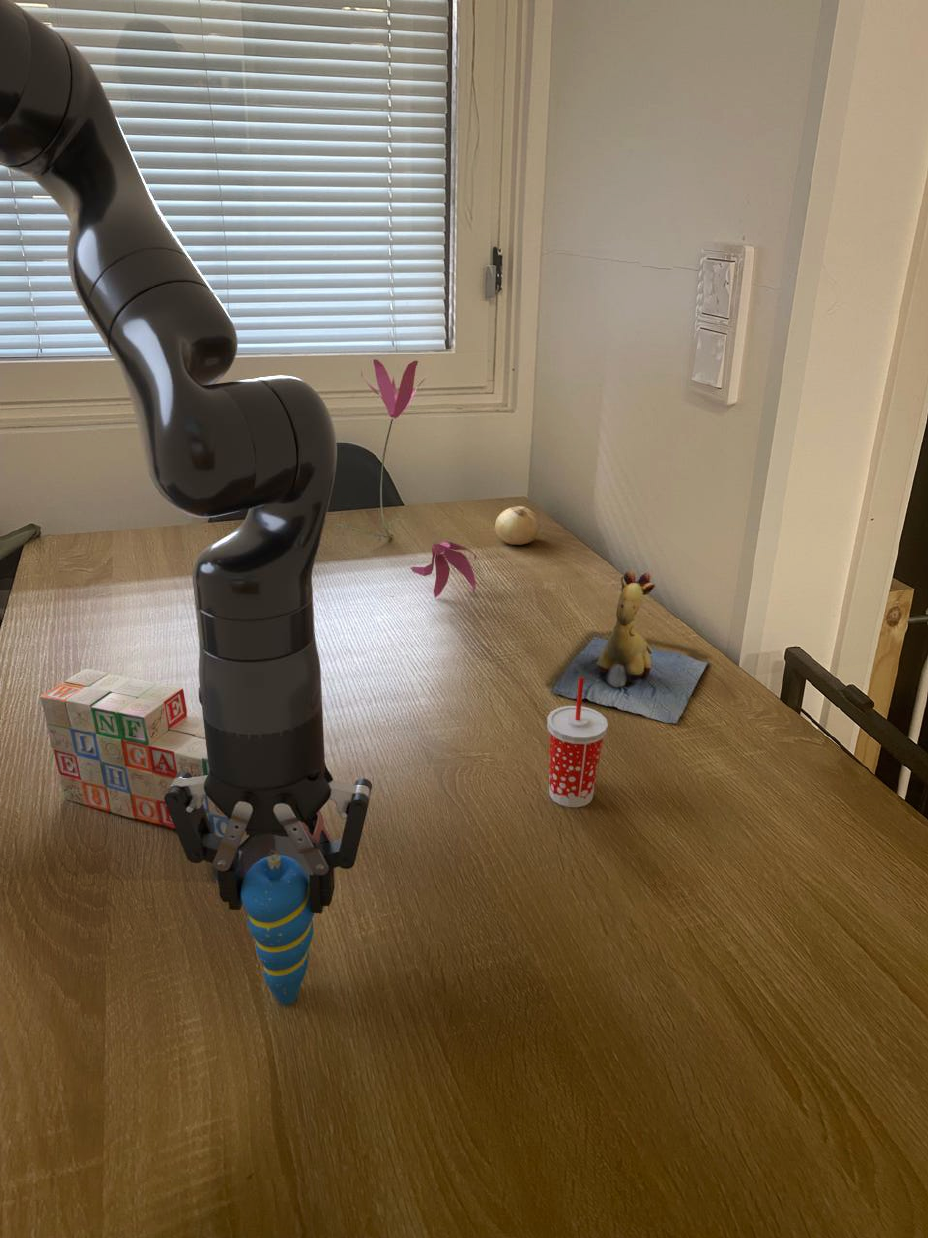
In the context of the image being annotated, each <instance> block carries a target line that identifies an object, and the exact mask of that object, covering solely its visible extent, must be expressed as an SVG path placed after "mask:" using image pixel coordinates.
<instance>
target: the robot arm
mask: <svg viewBox="0 0 928 1238" xmlns="http://www.w3.org/2000/svg"><path fill="white" fill-rule="evenodd" d="M124 135H125V134H124V133H123V130H122V128H121V126H120V124H119V121H118V119H117V116H116V114H115V111H114V109H113V106H112V104H111V102H110V100H109V98H108V95H107V93H106V91H105V89H104V87H103V85H102V83H101V81H100V79H99V77H98V75H97V72H96V71H95V70H94V68H93V67H92V64H91V63H90V62H89V60H88V59H87V58H86V57H85V55H83V53H82V52H81V51H80V50H79V49H78V48H77V47H76V46H75V45H74V44H73V43H71V42H70V41H69V40H68V38H65V37H64V35H62V34H60V33H59V32H57V31H56V30H54V29H52V28H51V27H49V26H48V25H47V24H45V23H44V22H43V21H41V20H40V19H39V18H37V17H35V16H34V15H32V14H31V13H29V11H27V10H25V9H24V8H22V7H21V6H20V5H18V4H17V3H16V2H14V1H13V0H0V165H1V166H3V167H4V168H7V169H9V170H11V171H16V172H17V173H22V174H24V175H27V177H30V178H31V179H32V180H33V181H35V183H37V184H38V185H39V186H40V188H42V190H44V191H45V192H46V193H47V194H48V195H49V196H50V197H51V198H52V199H53V200H54V202H56V204H57V205H58V206H59V207H60V209H61V210H62V211H63V213H64V214H65V215H66V217H67V219H68V220H69V222H70V224H71V225H70V228H69V233H68V234H69V235H68V241H67V250H66V252H67V253H66V254H67V255H66V256H67V266H68V267H67V268H68V273H69V276H70V279H71V283H72V286H73V289H74V291H75V294H76V296H77V299H78V301H79V303H80V305H81V306H82V308H83V310H84V312H85V314H86V315H87V317H88V319H89V320H90V322H91V324H92V325H93V326H94V329H95V330H96V331H97V333H98V335H99V336H100V338H101V339H102V341H103V343H104V345H105V346H106V347H107V349H108V351H109V352H110V354H111V356H112V357H113V359H114V361H115V362H116V363H117V365H118V368H119V369H120V372H121V374H122V376H123V379H124V383H125V385H126V389H127V391H128V395H129V398H130V401H131V405H132V408H133V412H134V415H135V418H136V423H137V427H138V432H139V437H140V441H141V447H142V451H143V457H144V462H145V464H146V465H145V466H146V469H147V472H148V476H149V478H150V480H151V482H152V484H153V486H154V488H155V489H156V491H157V492H158V493H159V495H160V496H161V497H162V498H163V499H164V500H166V502H167V503H169V504H170V505H171V506H172V507H174V508H175V509H177V510H179V511H181V513H184V514H185V515H189V516H191V517H193V518H202V519H206V518H216V517H220V516H225V515H229V514H230V515H231V514H234V513H238V512H242V511H245V510H248V511H247V514H246V516H245V518H244V520H243V522H242V523H241V524H240V525H239V526H238V527H237V528H236V529H235V530H233V531H232V532H230V533H229V534H227V535H226V536H224V537H222V538H221V539H219V540H216V541H215V542H213V543H211V544H210V545H209V546H207V547H205V548H204V549H203V550H202V551H201V552H200V553H199V554H198V555H197V557H196V558H195V560H194V563H193V568H192V588H193V598H194V599H193V600H194V608H195V618H196V619H195V620H196V626H197V627H196V628H197V637H198V646H199V647H198V648H199V650H198V652H199V653H198V684H199V686H198V701H199V704H200V705H201V709H202V710H201V711H202V718H203V721H204V731H205V740H206V749H207V758H208V766H209V773H208V775H206V776H199V777H192V776H191V774H189V773H188V772H183V771H182V772H179V773H177V775H176V776H175V778H174V780H173V781H172V783H171V785H170V787H169V789H168V791H167V793H166V795H165V797H164V801H165V803H166V806H167V808H168V811H169V814H170V816H171V819H172V821H173V824H174V826H175V828H174V829H175V831H176V834H177V836H178V840H179V842H180V844H181V846H182V849H183V852H184V854H185V857H186V859H187V860H188V861H189V862H190V863H193V864H199V863H202V862H203V861H205V862H208V863H211V864H212V867H213V866H214V867H215V869H217V874H218V883H217V884H218V892H219V897H220V899H221V901H222V902H223V903H228V910H230V911H241V909H242V906H243V904H242V900H241V895H240V893H241V885H242V882H243V879H244V877H245V868H244V857H243V851H239V849H238V847H239V844H240V842H241V839H242V837H243V834H244V832H245V831H246V835H263V834H273V835H277V836H283V837H290V839H291V841H292V843H293V845H294V846H295V848H296V850H297V852H298V853H302V854H303V855H304V857H305V859H306V861H307V863H308V864H309V866H310V868H311V871H310V874H309V878H310V895H311V912H312V913H314V914H323V911H324V907H330V905H331V903H332V901H333V896H334V891H335V888H336V887H335V869H336V868H341V869H344V870H350V869H352V868H353V867H354V865H355V863H356V858H357V854H358V850H359V846H360V843H361V838H362V834H363V830H364V826H365V822H366V817H367V814H368V809H369V804H370V799H371V794H372V789H373V784H372V781H370V780H369V779H368V778H363V777H361V778H359V779H357V780H356V781H355V782H354V784H352V783H348V782H343V781H339V780H338V781H337V780H334V777H333V776H332V773H331V772H330V771H329V769H328V767H327V765H326V756H325V736H324V716H323V715H324V712H323V711H324V710H323V695H322V694H323V693H322V692H323V690H322V669H321V668H322V667H321V660H320V655H319V650H318V645H317V640H316V628H315V607H314V604H315V603H314V585H313V584H314V583H313V574H314V573H313V572H314V568H315V564H316V559H317V556H318V552H319V550H320V549H319V548H320V544H321V540H322V535H323V532H324V531H323V530H324V525H325V523H324V522H326V517H327V514H328V510H329V506H330V501H331V497H332V492H333V489H334V484H335V483H334V482H335V477H336V472H337V464H338V462H337V461H338V443H337V436H336V429H335V425H334V422H333V419H332V416H331V414H330V411H329V409H328V407H327V405H326V403H325V401H324V399H323V398H322V397H321V396H320V395H319V393H318V392H317V391H316V389H314V388H313V387H312V386H311V385H310V384H308V383H307V382H306V381H304V380H302V379H300V378H297V377H295V376H289V375H273V376H265V377H258V378H251V379H243V380H235V381H229V382H219V383H218V381H219V380H221V379H222V378H223V377H224V376H225V375H226V373H228V371H229V370H230V369H231V367H232V365H233V363H234V361H235V359H236V357H237V352H238V347H239V346H238V341H239V340H238V335H237V330H236V327H235V325H234V323H233V321H232V319H231V317H230V315H229V314H228V312H227V310H226V309H225V307H224V305H223V304H222V302H221V301H220V299H219V298H218V296H217V295H216V294H215V292H214V291H213V289H212V288H211V286H210V285H209V283H208V282H207V280H206V279H205V277H204V276H203V274H202V273H201V271H200V270H199V268H198V267H197V265H196V264H195V263H194V261H193V260H192V258H191V256H189V254H188V253H187V251H186V250H185V248H184V247H183V245H182V243H181V242H180V240H179V238H177V235H175V233H174V232H173V230H172V228H171V227H170V225H169V224H168V222H167V220H166V219H165V217H164V215H163V214H162V212H161V211H160V209H159V207H158V205H157V204H156V202H155V200H154V197H153V196H152V194H151V192H150V191H149V187H148V186H147V184H146V182H145V179H144V178H143V175H142V173H141V171H140V169H139V167H138V164H137V162H136V160H135V158H134V156H133V153H132V151H131V149H130V146H129V144H128V142H127V140H126V137H125V136H124ZM205 795H207V796H208V798H209V799H210V800H211V801H212V802H213V803H214V804H215V805H216V806H217V807H218V808H219V809H220V810H221V811H222V812H223V813H224V814H225V815H226V816H227V818H228V819H229V823H228V825H227V828H226V830H225V833H224V835H223V837H220V836H217V835H214V834H213V831H212V828H211V825H210V823H209V820H208V817H207V815H206V812H205V809H204V807H203V804H202V803H203V801H204V799H205ZM329 800H331V801H333V802H334V803H335V805H336V811H337V813H338V815H339V816H340V818H341V819H342V820H345V824H344V828H343V833H342V836H341V838H339V839H335V840H332V837H331V836H330V834H329V832H328V831H327V829H326V826H325V822H324V821H325V820H324V816H323V814H322V812H321V809H322V808H323V807H324V806H325V805H326V804H327V802H329Z"/></svg>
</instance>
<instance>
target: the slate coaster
mask: <svg viewBox="0 0 928 1238" xmlns="http://www.w3.org/2000/svg"><path fill="white" fill-rule="evenodd" d="M238 849H239V851H243V857H244V868H245V875H246V873H247V871H248V870H249V869H250V868H251V866H252V865H254V864H255V863H256V862H258V861H259V860H261V859H263V858H266V857H269V856H270V851H271V850H273V851H275V852H276V854H277V855H282V856H287V857H290V858H292V859H294V860H295V861H297V862H298V863H299V864H300V865H301V867H302V868H303V870H304V871H305V873H306V874H307V876H308V878H309V874H310V871H311V868H310V866H309V864H308V863H307V861H306V859H305V857H304V855H303V854H302V853H298V852H297V850H296V848H295V846H294V845H293V843H292V841H291V839H290V837H283V836H277V835H273V834H263V835H250V836H249V837H248V838H247V839H246V840H245V841H244V842H243V843H242V844H241V845H240V846H239V847H238ZM273 851H271V855H276V854H275V853H274V852H273ZM212 875H213V876H212V877H213V881H214V883H215V884H219V883H218V874H217V869H215V867H214V866H213V865H212ZM309 880H310V878H309Z"/></svg>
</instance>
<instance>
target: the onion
mask: <svg viewBox="0 0 928 1238" xmlns="http://www.w3.org/2000/svg"><path fill="white" fill-rule="evenodd" d="M494 525H495V526H494V530H495V533H496V536H497V537H498V539H499V540H500V541H502V542H503V543H505V544H507V545H511V546H512V545H513V546H515V545H516V546H521V545H526V544H529V543H532V542H533V541H534V540H535V539H536V538H537V536H538V534H539V530H540V522H539V519H538V516H537V515H536V514H535V513H534V512H533V511H532V510H530V509H528V508H527V507H525V506H522V505H521V506H520V505H519V506H518V505H517V506H511V507H509V508H506V509H504V510H503V511H501V513H499V515H498V516H497V518H496V520H495V523H494Z"/></svg>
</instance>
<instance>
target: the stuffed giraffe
mask: <svg viewBox="0 0 928 1238" xmlns="http://www.w3.org/2000/svg"><path fill="white" fill-rule="evenodd" d="M620 581H621V582H620V584H621V589H620V591H621V592H620V594H619V598H618V601H617V606H616V612H615V616H616V622H615V625H614V626H613V628H612V629H613V630H612V632H611V633H610V635H609V636H608V638H607V639H606V638H605V639H604V638H601V637H598V636H594V637H593V639H591V640H590V641H589V642H588V643H587V645H585V647H584V648H583V649H582V650H581V651H580V652H579V653H578V654H577V655H576V657H575V658H574V659H573V661H571V663H570V664H569V665H568V667H567V669H565V670H564V672H563V673H562V675H560V677H559V678H558V680H557V682H556V683H555V685H554V686H553V687H552V689H551V690H550V693H553V694H555V695H560V696H562V697H565V698H568V699H573V700H577V695H578V684H579V677H580V676H583V677H584V682H583V693H582V700H585V699H587V700H588V701H589V702H592V703H596V704H598V705H601V706H605V707H614V708H617V709H618V710H620V711H624V712H625V711H626V712H629V713H633V714H636V715H637V714H638V715H642V716H643V717H646V718H648V719H652V720H656V721H660V722H661V723H662V722H663V723H666V724H678V721H679V719H680V717H681V716H682V715H683V714H684V711H685V709H686V707H687V704H688V703H689V700H690V698H691V696H692V694H693V692H694V690H695V688H696V686H697V684H698V682H699V680H700V678H701V676H702V675H703V673H704V671H705V669H706V667H707V666H708V662H707V661H701V660H699V659H696V658H694V657H691V656H688V655H685V654H683V653H681V652H675V651H667V650H663V649H658V648H655V647H652V646H650V645H649V644H648V642H647V641H646V639H645V638H644V637H642V636H641V635H640V634H639V633H638V632H637V631H636V630H635V628H634V624H635V617H636V616H637V614H638V612H639V611H640V608H641V604H642V600H643V597H644V596H645V595H649V593H651V592H652V591H653V590H654V589H655V587H656V584H655V583H653V582H650V581H651V576H650V573H649V572H645V573H643V574H642V575H640V576H639V579H638V580H637V581H636V575H635V573H634V571H630V570H629V571H627V572H625V574H623V576H622V577H620Z"/></svg>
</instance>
